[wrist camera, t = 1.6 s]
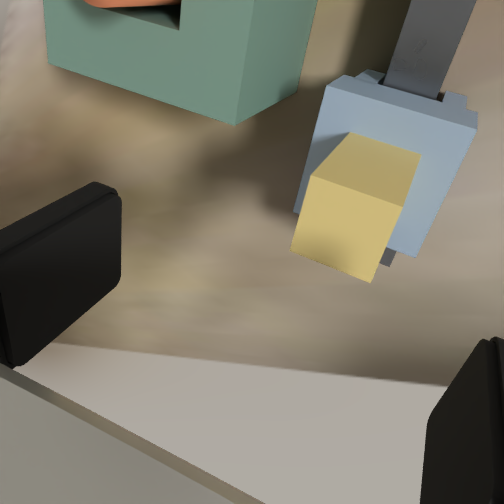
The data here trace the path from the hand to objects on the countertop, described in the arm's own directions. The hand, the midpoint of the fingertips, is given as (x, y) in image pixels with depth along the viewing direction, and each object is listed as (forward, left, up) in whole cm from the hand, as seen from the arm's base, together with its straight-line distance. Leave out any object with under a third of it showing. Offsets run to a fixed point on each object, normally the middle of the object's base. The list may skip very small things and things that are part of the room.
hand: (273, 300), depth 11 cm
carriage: (-1, 0, -17) cm, 17 cm away
